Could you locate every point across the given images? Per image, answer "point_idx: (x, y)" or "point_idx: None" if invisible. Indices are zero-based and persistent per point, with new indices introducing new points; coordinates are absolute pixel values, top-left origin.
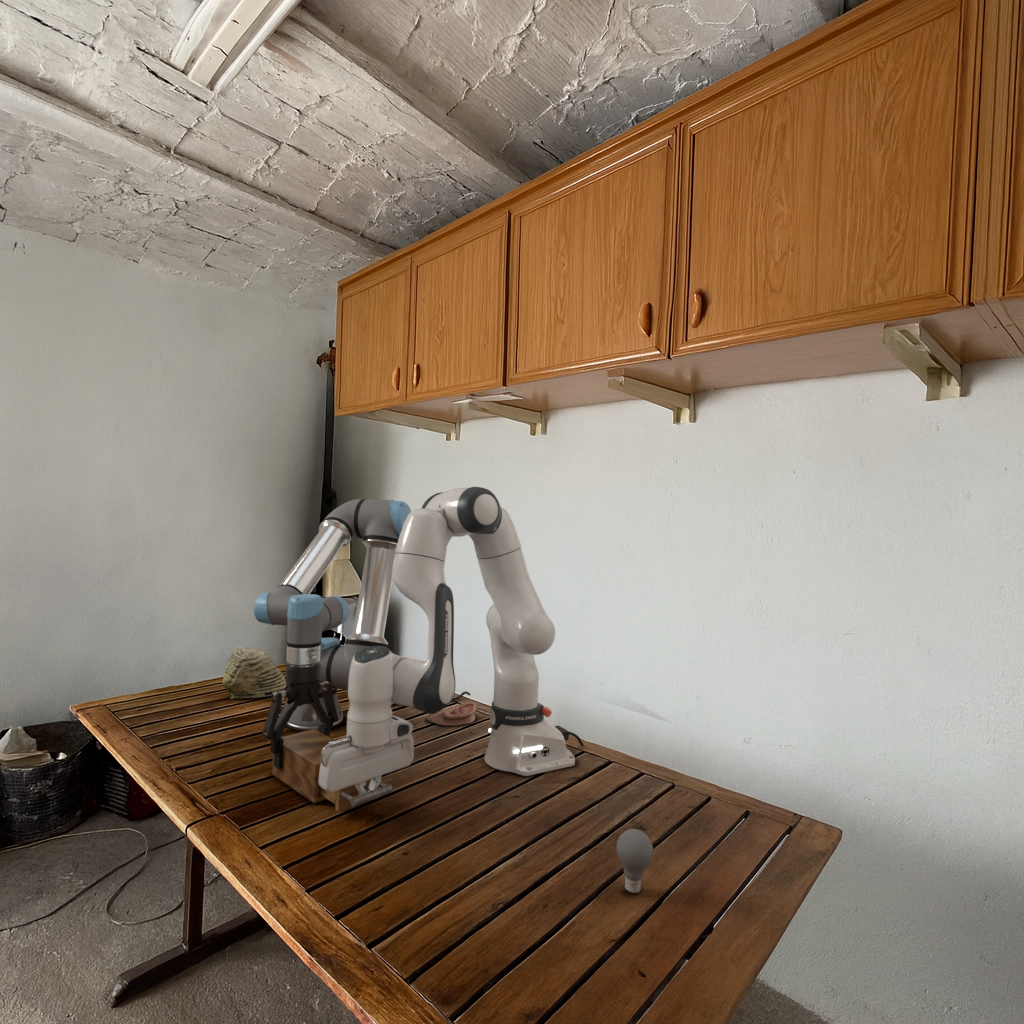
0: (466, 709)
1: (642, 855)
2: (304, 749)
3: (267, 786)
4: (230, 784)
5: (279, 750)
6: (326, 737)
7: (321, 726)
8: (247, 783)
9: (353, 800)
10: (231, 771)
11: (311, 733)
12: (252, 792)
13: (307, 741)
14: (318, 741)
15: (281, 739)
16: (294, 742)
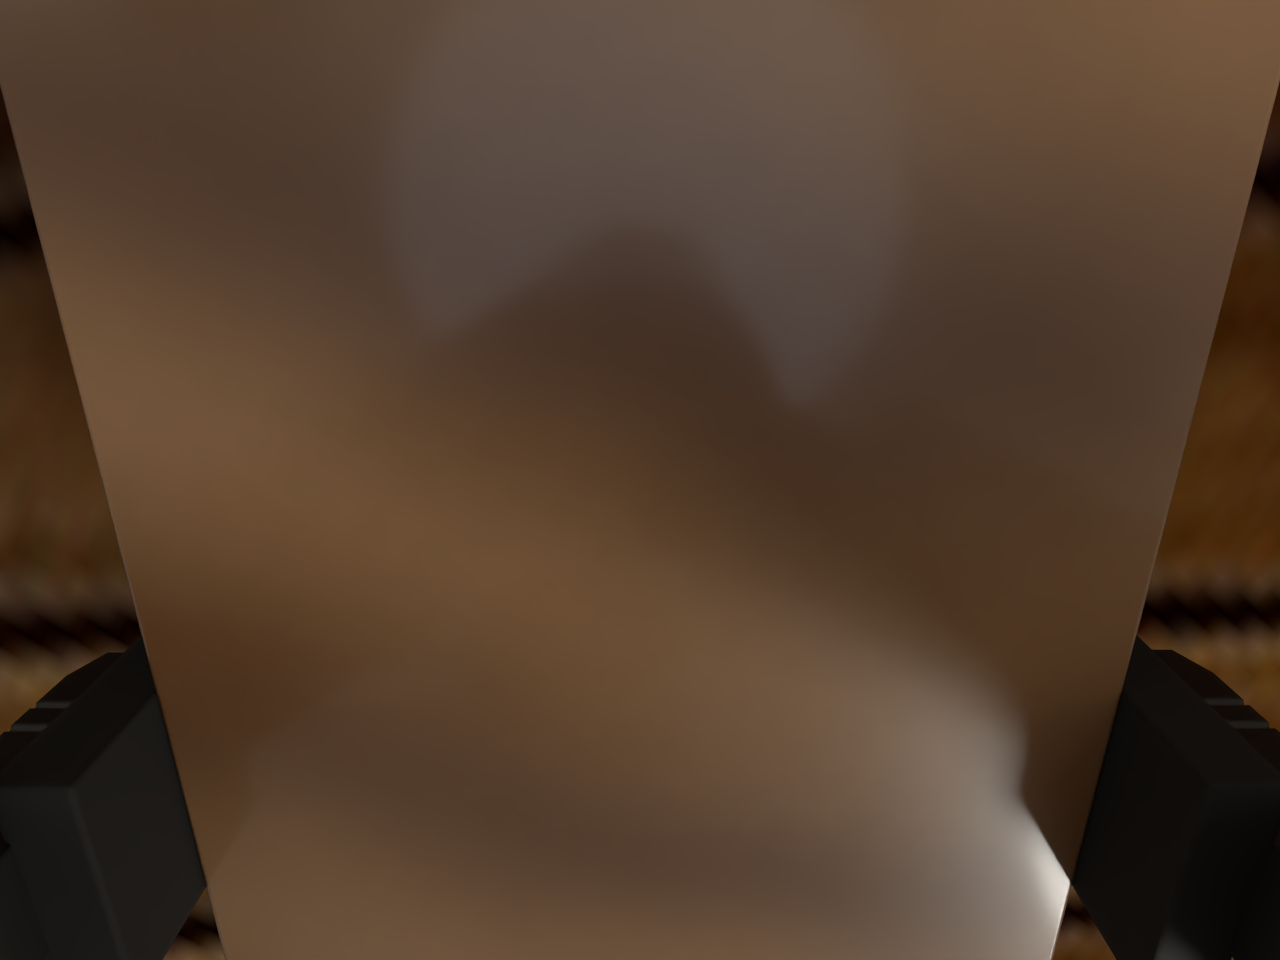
0: None
1: None
2: (980, 155)
3: None
4: (1256, 700)
5: (1136, 651)
6: (178, 500)
7: (97, 919)
8: (1144, 627)
9: None
10: (1076, 909)
11: (370, 864)
12: (1251, 414)
13: (643, 563)
14: (442, 403)
15: (1257, 790)
16: (875, 682)
